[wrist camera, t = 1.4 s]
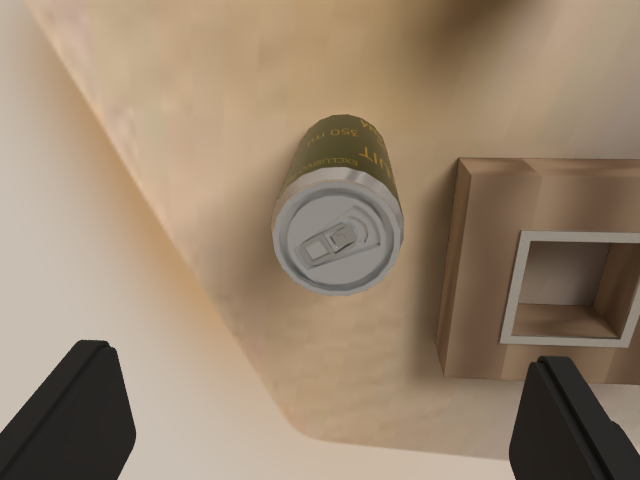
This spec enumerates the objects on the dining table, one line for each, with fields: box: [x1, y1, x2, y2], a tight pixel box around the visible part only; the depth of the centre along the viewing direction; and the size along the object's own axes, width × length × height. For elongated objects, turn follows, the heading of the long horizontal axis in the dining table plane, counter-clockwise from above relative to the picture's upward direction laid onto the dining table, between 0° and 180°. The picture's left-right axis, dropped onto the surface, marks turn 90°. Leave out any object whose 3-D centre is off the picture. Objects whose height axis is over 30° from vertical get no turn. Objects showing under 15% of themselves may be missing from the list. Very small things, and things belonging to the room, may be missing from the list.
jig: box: [436, 158, 640, 385], centre depth 29 cm, size 14×14×4 cm
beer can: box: [271, 114, 404, 296], centre depth 23 cm, size 5×5×12 cm
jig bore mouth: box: [499, 229, 640, 348], centre depth 28 cm, size 8×8×1 cm
